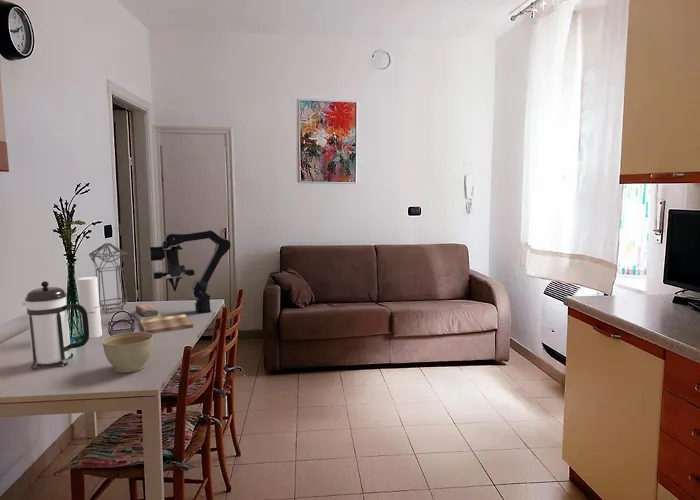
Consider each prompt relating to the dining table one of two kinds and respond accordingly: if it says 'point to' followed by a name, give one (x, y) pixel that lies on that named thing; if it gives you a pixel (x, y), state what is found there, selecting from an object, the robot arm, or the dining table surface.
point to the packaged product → (145, 312)
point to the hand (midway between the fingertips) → (174, 291)
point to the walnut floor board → (167, 325)
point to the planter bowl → (128, 350)
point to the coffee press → (51, 325)
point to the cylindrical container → (91, 304)
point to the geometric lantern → (109, 270)
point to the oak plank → (162, 318)
